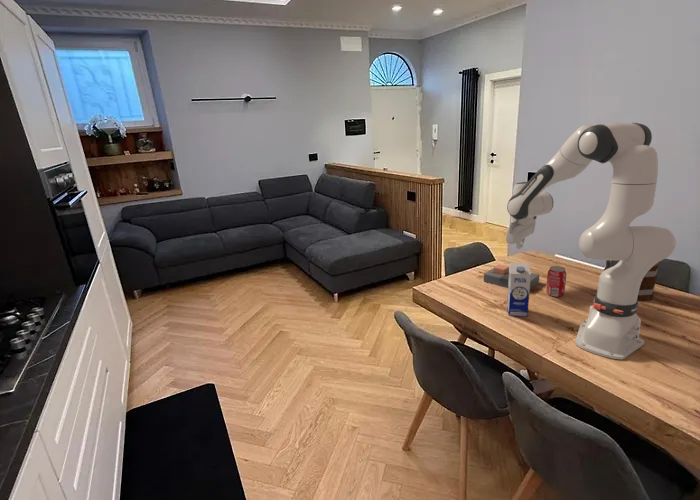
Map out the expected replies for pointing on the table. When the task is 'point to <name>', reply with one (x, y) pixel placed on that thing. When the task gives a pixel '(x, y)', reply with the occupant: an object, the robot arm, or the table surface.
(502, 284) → the console
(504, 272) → the brick key
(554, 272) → the soda can
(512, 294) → the milk carton
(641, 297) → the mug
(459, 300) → the table surface
